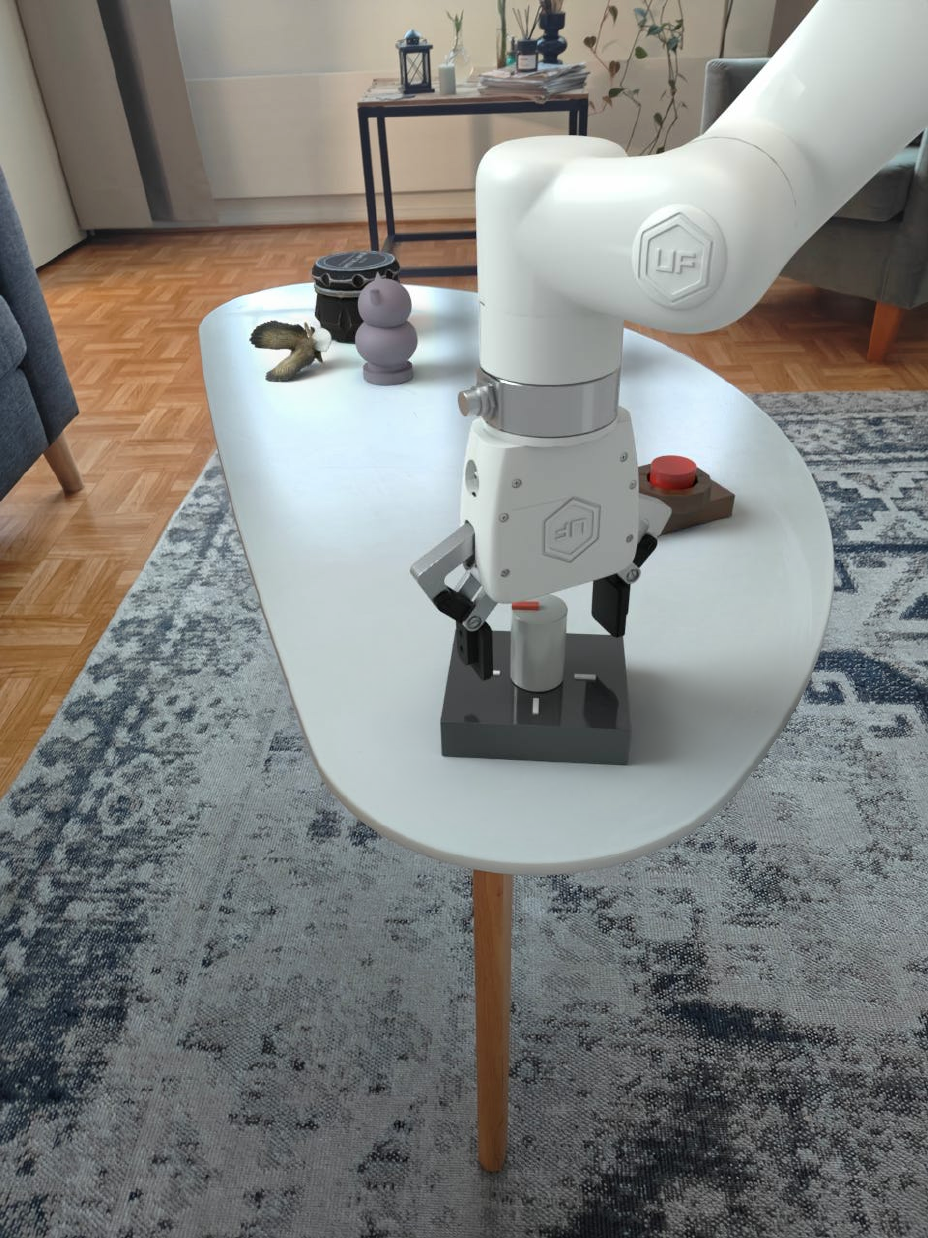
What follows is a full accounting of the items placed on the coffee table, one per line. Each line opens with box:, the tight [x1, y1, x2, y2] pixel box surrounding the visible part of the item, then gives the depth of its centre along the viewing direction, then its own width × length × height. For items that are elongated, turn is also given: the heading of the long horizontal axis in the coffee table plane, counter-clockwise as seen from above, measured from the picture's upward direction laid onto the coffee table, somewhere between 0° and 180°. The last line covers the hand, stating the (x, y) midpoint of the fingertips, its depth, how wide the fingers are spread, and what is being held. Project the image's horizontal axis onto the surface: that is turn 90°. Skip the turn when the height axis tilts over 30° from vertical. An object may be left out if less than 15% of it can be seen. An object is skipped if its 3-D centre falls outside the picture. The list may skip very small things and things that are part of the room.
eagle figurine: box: [248, 320, 332, 382], centre depth 116 cm, size 8×7×9 cm
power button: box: [649, 454, 698, 490], centre depth 81 cm, size 4×4×2 cm
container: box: [310, 250, 402, 344], centre depth 127 cm, size 13×13×10 cm
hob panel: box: [439, 628, 633, 766], centre depth 61 cm, size 12×10×3 cm
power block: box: [638, 463, 736, 536], centre depth 84 cm, size 11×10×4 cm
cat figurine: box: [354, 271, 419, 386], centre depth 112 cm, size 8×8×12 cm
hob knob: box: [510, 593, 569, 692], centre depth 59 cm, size 4×4×6 cm
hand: (544, 646), depth 59 cm, fingers open, 9 cm apart
